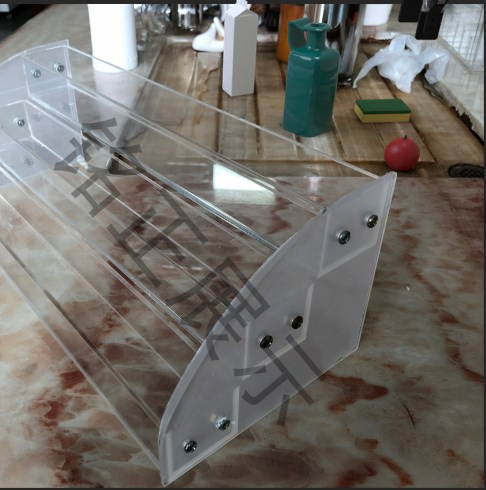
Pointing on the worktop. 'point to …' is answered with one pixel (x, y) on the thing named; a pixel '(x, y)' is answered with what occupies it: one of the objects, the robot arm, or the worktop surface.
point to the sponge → (382, 110)
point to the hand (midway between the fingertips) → (416, 30)
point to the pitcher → (310, 79)
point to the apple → (402, 154)
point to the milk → (239, 49)
